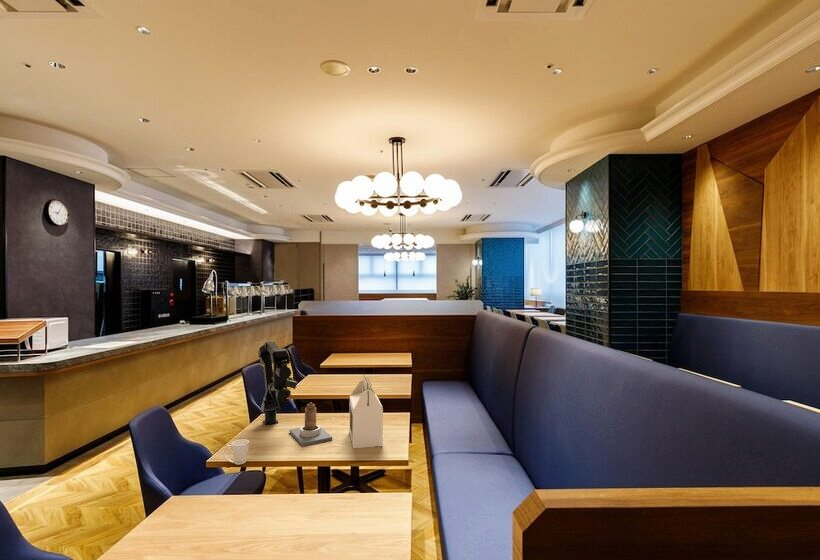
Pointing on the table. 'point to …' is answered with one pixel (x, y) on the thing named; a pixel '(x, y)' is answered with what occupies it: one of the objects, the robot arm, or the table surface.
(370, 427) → the gable box
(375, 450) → the table surface
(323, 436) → the caddy board
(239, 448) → the cup
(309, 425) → the pepper mill
